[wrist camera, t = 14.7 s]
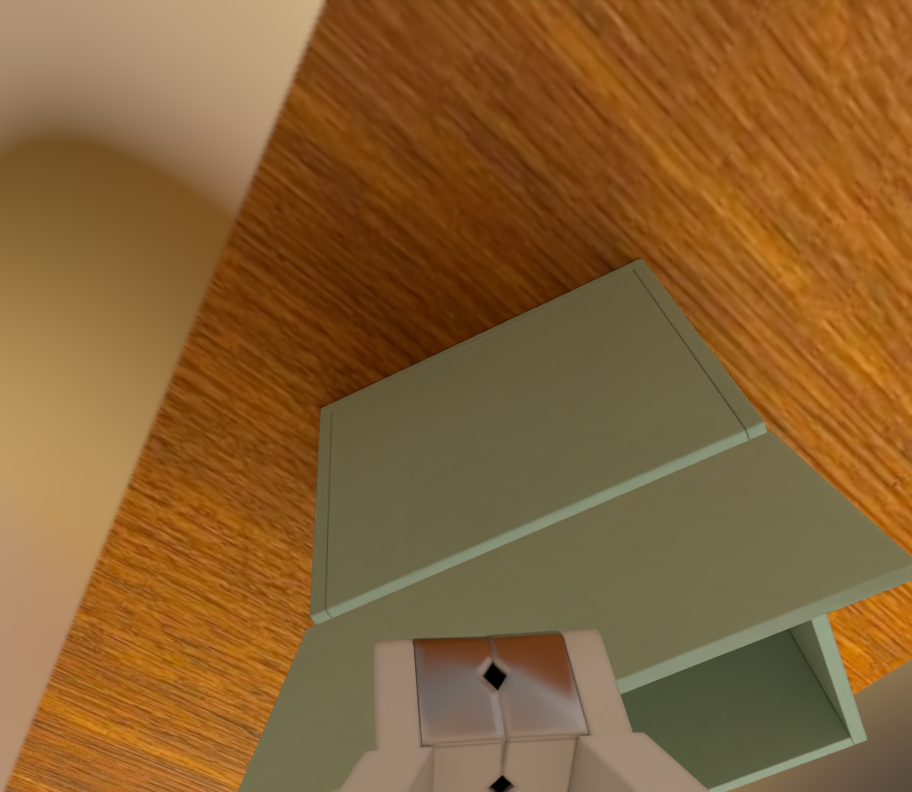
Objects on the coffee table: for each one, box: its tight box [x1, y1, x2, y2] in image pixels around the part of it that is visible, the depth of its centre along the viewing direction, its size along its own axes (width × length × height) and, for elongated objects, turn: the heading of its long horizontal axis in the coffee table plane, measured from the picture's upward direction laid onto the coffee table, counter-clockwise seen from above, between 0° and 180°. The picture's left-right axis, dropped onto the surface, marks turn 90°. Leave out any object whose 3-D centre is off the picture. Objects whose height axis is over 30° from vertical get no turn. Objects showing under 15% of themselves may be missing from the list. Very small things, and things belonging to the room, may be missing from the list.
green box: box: [310, 258, 867, 792], centre depth 30 cm, size 15×13×10 cm
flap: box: [238, 431, 912, 792], centre depth 18 cm, size 7×13×1 cm
